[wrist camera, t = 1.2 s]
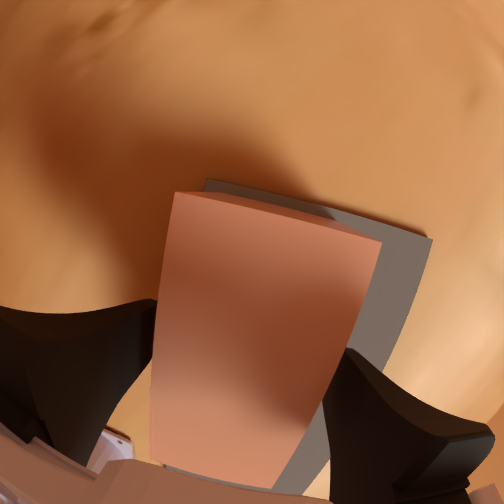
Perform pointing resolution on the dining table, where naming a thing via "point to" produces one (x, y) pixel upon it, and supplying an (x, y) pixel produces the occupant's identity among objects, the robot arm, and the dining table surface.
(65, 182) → the dining table surface
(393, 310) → the charcoal mat
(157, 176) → the dining table surface
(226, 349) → the terracotta cover
